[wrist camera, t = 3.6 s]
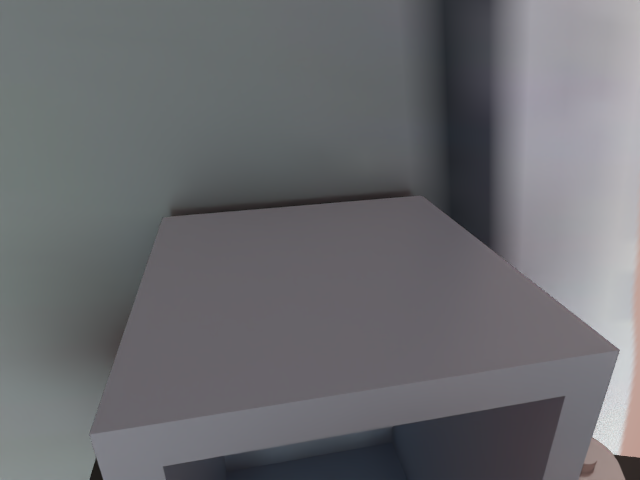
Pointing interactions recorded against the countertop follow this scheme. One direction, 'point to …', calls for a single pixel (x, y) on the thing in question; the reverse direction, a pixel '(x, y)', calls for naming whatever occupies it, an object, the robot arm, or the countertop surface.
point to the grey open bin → (345, 354)
